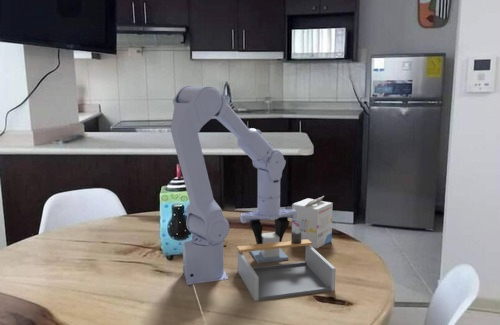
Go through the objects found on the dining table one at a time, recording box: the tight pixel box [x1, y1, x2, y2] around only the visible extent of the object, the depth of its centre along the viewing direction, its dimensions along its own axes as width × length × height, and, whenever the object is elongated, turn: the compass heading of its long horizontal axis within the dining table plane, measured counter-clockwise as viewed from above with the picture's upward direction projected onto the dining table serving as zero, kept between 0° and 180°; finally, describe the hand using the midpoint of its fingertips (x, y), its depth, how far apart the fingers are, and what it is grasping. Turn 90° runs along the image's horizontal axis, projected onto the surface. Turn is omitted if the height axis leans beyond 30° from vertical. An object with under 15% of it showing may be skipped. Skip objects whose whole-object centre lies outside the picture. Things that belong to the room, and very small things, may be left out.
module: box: [260, 231, 280, 258], centre depth 114 cm, size 4×4×5 cm
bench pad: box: [249, 248, 289, 264], centre depth 115 cm, size 8×8×1 cm
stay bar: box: [236, 231, 312, 253], centre depth 106 cm, size 18×2×3 cm, turn 105°
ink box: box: [291, 195, 334, 249], centre depth 125 cm, size 9×8×13 cm
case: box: [237, 245, 337, 302], centre depth 100 cm, size 18×15×6 cm
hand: (268, 246), depth 115 cm, fingers open, 4 cm apart
